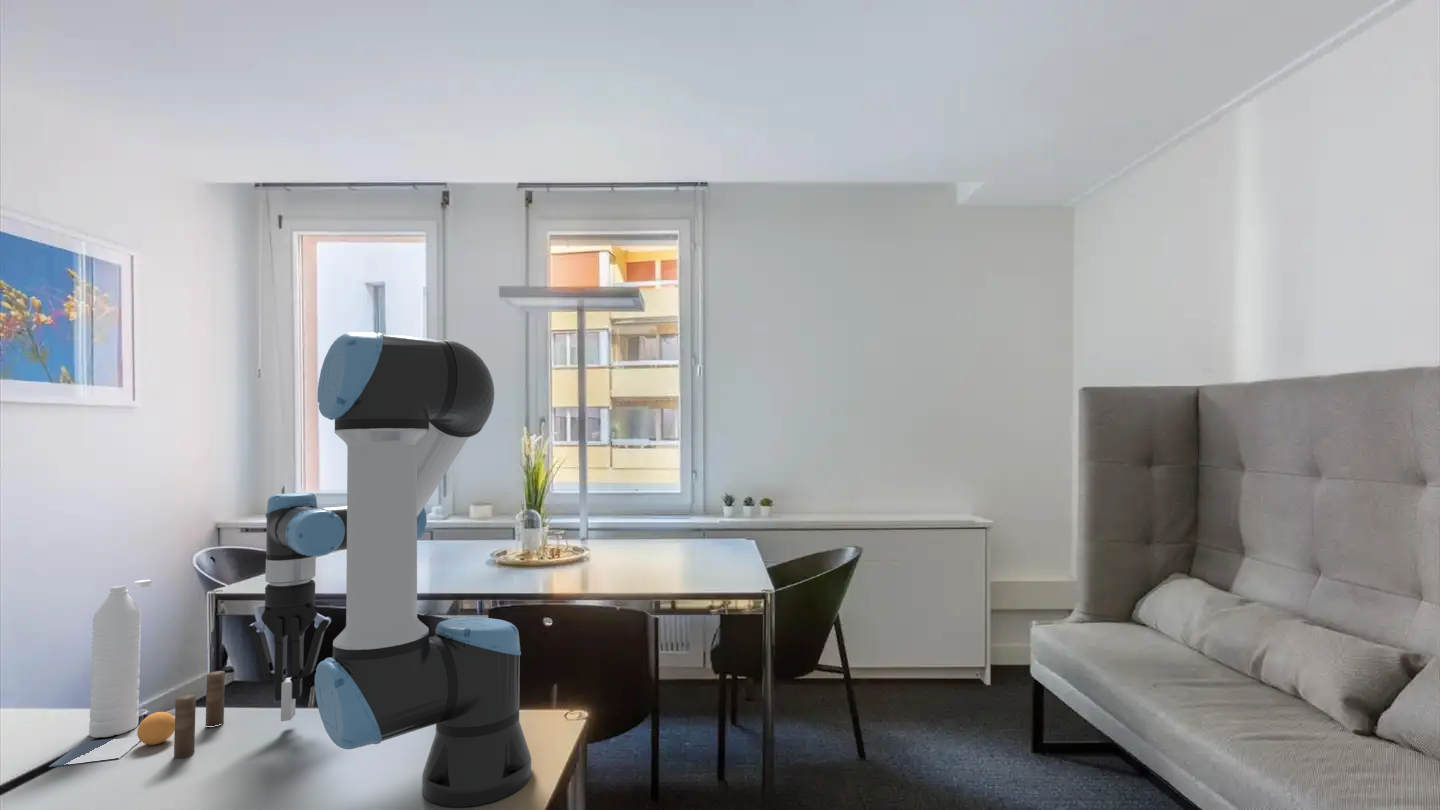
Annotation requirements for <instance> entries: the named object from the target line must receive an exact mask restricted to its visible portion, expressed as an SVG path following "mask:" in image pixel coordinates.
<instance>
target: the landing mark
mask: <svg viewBox="0 0 1440 810" xmlns="http://www.w3.org/2000/svg"><path fill="white" fill-rule="evenodd" d="M115 738H116V737H115ZM115 738H107V739H106V738H105V739H96V740H87V741H82V742H81V743H79V744H78V745H77V746H75V747H74V748H72V749H71V750H69V751H68V752H67V753H65V754H64V755H62V756H60V758H59V759H58V758H57V760H55V761H54V762H53V763H51V764H50V765H48V768H55V767H63V766H62V765H64V764H66V763H68V762H70V761H71V760H73V759H75V758H77V757H80V756H81V755H85V754H86V753H89V752H90V751H92V750H94V749H95V748H98V747H100V746H102V745H104V744H106V743H107V742H109V741H111V740H113V739H115Z"/></svg>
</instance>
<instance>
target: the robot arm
mask: <svg viewBox="0 0 1440 810" xmlns="http://www.w3.org/2000/svg"><path fill="white" fill-rule="evenodd" d="M494 385H495V384H494V381H493V378H492V374H491V371H490V370H489V368H488V366H487V365H486V363H485V362H484V360H483V359H482V358H481V356H479V355H478V354H477V353H476V352H475V351H474V350H472V349H471V348H469V347H468V346H466V345H464V344H461V343H459V342H456V341H454V340H447V339H433V338H425V337H418V336H417V337H416V336H409V335H402V334H401V335H400V334H394V333H393V334H392V333H382V332H346V333H344V334H342V335H340V336H339V337H337V338H336V339H335V340H334V341H333V342H332V344H331V345H330V347H329V349H328V351H327V353H326V355H325V357H324V360H323V362H322V366H321V369H320V374H319V379H318V386H317V402H318V411H319V412H320V414H321V415H322V417H323V418H327V419H328V420H331V421H333V420H334V434H336V435H337V437H339V438H340V439H341V440H342V441H343V442H344V443H345V444H346V446H347V450H346V451H347V456H346V458H347V460H346V461H347V463H346V467H347V468H346V469H347V470H346V471H347V472H346V475H347V476H346V477H347V479H346V486H347V487H346V505H339V506H338V505H337V506H325V507H324V506H322V507H318V501H317V496H316V495H315V494H314V493H312V492H290V493H277V494H273V495H271V496H270V497H268V500H267V505H266V506H267V507H266V513H265V518H266V534H265V535H266V541H265V543H266V545H265V547H266V548H265V554H266V556H265V557H266V558H265V577H264V579H265V582H266V583H268V584H267V585H266V586H265V588H264V610H263V613H262V614H261V616H260V617H261V618H260V619H258V620H257V621H255V622H252V623H251V624H249V625H248V626H247V627H246V628H245V631H246V633H247V634H248V635H249V637H250V638H251V639H252V642H253V646H254V651H255V654H256V659H257V661H258V665H259V669H260V673H261V677H262V680H264V681H272V682H274V700H275V701H276V702H279V701H280V703H281V704H280V722H288V721H292V719H293V718H294V717H295V715H296V699H299V698H300V697H301V696H302V693H303V678H305V677H308V676H310V675H311V674H312V673H313V671H314V670H315V671H316V672H315V674H314V692H315V697H316V698H315V699H316V703H317V708H318V713H319V716H320V719H321V722H322V724H323V726H324V730H325V731H326V733H327V734H328V737H329V739H330V740H331V741H332V742H333V744H335V745H336V746H337V747H338V748H341V749H343V750H354V749H359V748H362V747H366V746H369V745H379V744H381V743H382V742H384V741H387V740H390V739H394V738H396V737H400V736H403V735H406V734H409V733H412V732H416V731H419V730H422V729H424V728H428V727H430V726H434V725H435V734H434V737H433V738H434V739H433V740H432V743H431V747H430V748H429V749H430V750H429V753H428V757H427V758H426V762H425V766H424V768H423V771H422V775H421V776H422V778H421V780H422V781H421V783H422V784H421V791H422V793H421V794H422V795H423V797H424V798H425V799H426V800H427V801H429V802H430V803H433V804H436V805H439V806H444V807H452V808H454V807H457V808H463V807H465V808H466V807H474V806H479V805H484V804H488V803H492V802H496V801H499V800H501V799H503V798H506V797H508V796H510V795H512V794H514V793H515V792H517V791H519V790H520V789H521V788H522V787H524V786H525V785H526V784H527V783H528V782H529V780H530V778H531V776H532V757H531V752H530V749H529V746H528V744H527V740H526V737H525V735H524V731H523V727H522V724H521V722H520V675H521V674H520V673H521V672H520V671H521V670H520V663H521V662H520V656H521V655H522V651H521V645H520V635H519V634H520V633H519V630H518V628H517V626H515V624H513V623H512V622H509V621H507V620H503V619H498V618H491V617H489V618H488V617H475V616H474V617H470V616H469V617H454V618H447V619H444V620H443V621H440V622H439V623H438V624H437V625H436V628H435V634H436V635H433V636H430V630H429V627H428V626H427V625H426V624H425V623H423V622H422V621H421V620H420V619H419V618H418V540H420V539H421V538H422V537H423V536H424V535H425V532H426V527H427V524H428V523H427V522H428V521H427V520H428V519H427V511H426V508H425V506H426V505H427V503H428V502H429V500H430V499H431V497H432V495H433V494H434V492H435V490H436V489H437V488H438V486H439V484H440V483H441V481H442V480H443V478H444V476H445V475H446V474H447V472H448V470H449V469H450V467H451V466H452V464H453V463H454V461H455V459H456V457H457V456H458V454H459V453H460V451H461V450H462V449H463V447H464V445H465V443H466V442H467V441H468V439H469V438H473V437H474V436H476V435H478V434H479V433H480V432H481V431H482V429H483V428H484V427H485V425H486V423H487V422H488V419H489V418H490V415H491V413H492V410H493V406H494V402H495V387H494ZM344 550H346V586H345V587H346V595H345V596H346V599H345V600H346V605H345V606H346V607H345V608H346V609H345V610H346V611H345V612H346V613H345V615H346V617H345V618H346V619H345V626H344V628H343V630H342V631H341V632H340V633H339V634H338V635H337V636H336V637H335V638H334V639H333V641H332V657H326V658H325V659H324V660H322V661H320V662H319V663H318V664H317V661H318V658H319V655H320V650H321V646H322V643H323V639H324V636H325V632H326V630H327V628H328V627H329V625H330V624H331V622H332V621H333V620H332V617H330V616H324V615H322V614H320V613H319V609H318V607H317V606H316V581H315V580H313V578H315V577H316V570H317V569H316V557H323V556H326V555H328V554H330V553H332V552H337V551H344ZM313 621H314V626H313V627H314V628H315V631H314V633H313V636H312V640H311V643H310V646H309V647H310V648H309V650H308V654H307V658H306V661H305V664H304V649H305V648H304V647H305V646H304V644H305V643H304V641H305V631H306V630H307V629H308V628H309V626H310V625H311V624H312V623H313ZM266 627H267V628H268V629H269V631H270V632H271V633H272V635H274V636H273V637H274V641H273V642H274V661H273V658H272V654H271V651H270V647H269V644H268V639H267V635H266V632H265V630H266ZM289 636H290V641H291V674H290V675H291V677H287V676H288V671H287V665H288V663H287V661H288V658H287V657H288V638H289ZM273 662H274V663H273ZM316 664H317V666H316Z"/></svg>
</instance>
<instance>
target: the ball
mask: <svg viewBox="0 0 1440 810" xmlns="http://www.w3.org/2000/svg"><path fill="white" fill-rule="evenodd" d="M174 733H175V716H173V715H172V713H169V712H166V711H157V712H154V713H150V714H149V715H148V716H146V717H144V719H142V721H141V722H140V724H138V728H137V734H136V736H138V738H139V740H140V742H142V743H143V744H145V745H147V746H155V745H158V744H161V743H164V742H165V741H167V740H168V739H169V738H170V737H171V736H172V735H173V734H174Z"/></svg>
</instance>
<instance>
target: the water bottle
mask: <svg viewBox="0 0 1440 810" xmlns="http://www.w3.org/2000/svg"><path fill="white" fill-rule="evenodd" d="M150 586H152V579H141V580H140V579H139V580H135V581H134V582H133V588H145V587H150ZM128 592H129V589H128V586H127V584H126V585H124V584H123V585H115V586H114V585H113V586H110V587H109V591H108V592H107V594H108V596H107V598H106V599H105V600H104V601H103V602H102V604H100V606H99V607H98V608H97V610H96V612H94V614H93V618H92V641H91V642H92V647H91V651H92V652H91V666H90V667H91V668H90V673H91V675H90V686H91V687H90V693H91V694H90V700H89V705H90V709H89V726H88V729H89V730H88V735H89V737H91V738H94V739H98V738H109V737H113V736H115V735H116V736H118V735H121V734H126V733H127V732H128V731H133V730H134V729H136V728H137V726H139V717H140V713H139V709H140V707H139V706H140V700H139V697H140V690H139V688H140V683H141V681H140V673H141V668H140V665H141V641H142V640H141V635H142V634H141V633H142V631H141V628H142V625H141V624H142V617H143V616H142V615H143V613H142V609H141V607H140V605H139V604H138V603H137V602H136V601H135V600H134V599H133V597H131V596H130V595H129V593H128ZM136 709H138V710H136ZM132 710H134V711H132Z"/></svg>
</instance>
